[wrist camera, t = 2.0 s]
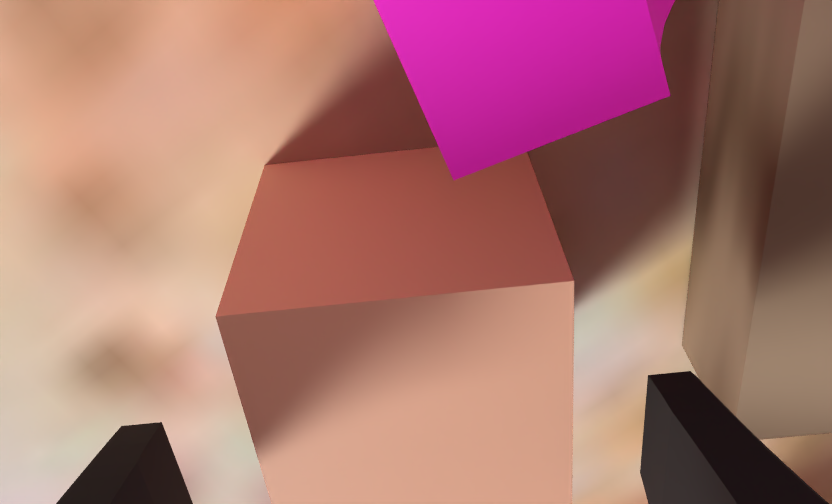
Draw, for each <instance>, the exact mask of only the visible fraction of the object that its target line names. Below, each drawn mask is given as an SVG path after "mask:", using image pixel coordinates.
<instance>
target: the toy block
mask: <svg viewBox="0 0 832 504" xmlns="http://www.w3.org/2000/svg"><path fill="white" fill-rule="evenodd" d="M373 1H374V3H375V5H376V7H377V9H378V12H379V14H380V16H381V18H382V21H383V23H384V25H385V27H386V30H387V32H388V34H389V36H390V39H391V41H392V43H393V45H394V48H395V50H396V52H397V54H398V57H399V59H400V61H401V63H402V66H403V68H404V70H405V72H406V75H407V77H408V79H409V81H410V84H411V86H412V88H413V90H414V93H415V95H416V97H417V99H418V102H419V104H420V106H421V108H422V111H423V113H424V115H425V117H426V120H427V122H428V124H429V126H430V129H431V131H432V133H433V135H434V138H435V140H436V142H437V144H438V146H439V149H440V151H441V153H442V155H443V158H444V160H445V162H446V164H447V167H448V169H449V171H450V173H451V176H452V178H453V180H456V179H459V178H461V177H464V176H466V175H469V174H472V173H474V172H477V171H479V170H482V169H484V168H487V167H489V166H492V165H495V164H497V163H500V162H502V161H505V160H507V159H510V158H512V157H515V156H518V155H520V154H523V153H525V152H528V151H530V150H533V149H536V148H538V147H541V146H543V145H546V144H548V143H551V142H553V141H556V140H559V139H561V138H564V137H566V136H569V135H571V134H574V133H576V132H579V131H582V130H584V129H587V128H589V127H592V126H594V125H597V124H599V123H602V122H605V121H607V120H610V119H612V118H615V117H617V116H620V115H623V114H625V113H628V112H630V111H633V110H635V109H638V108H640V107H643V106H646V105H648V104H651V103H653V102H656V101H658V100H661V99H663V98H666V97H669V96H671V95H670V91H669V87H668V84H667V80H666V76H665V72H664V68H663V64H662V60H661V53H660V44H661V39H662V34H663V29H664V24H665V22H666V19H667V17H668V15H669V12H670V10H671V8H672V6H673V3H674V1H675V0H373Z"/></svg>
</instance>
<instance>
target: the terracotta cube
mask: <svg viewBox="0 0 832 504" xmlns="http://www.w3.org/2000/svg"><path fill="white" fill-rule="evenodd" d="M216 319H217V323H218V326H219V330H220V333H221V336H222V340H223V343H224V346H225V350H226V353H227V356H228V360H229V363H230V366H231V370H232V373H233V376H234V380H235V383H236V386H237V390H238V393H239V396H240V400H241V403H242V407H243V410H244V413H245V417H246V420H247V423H248V427H249V430H250V433H251V437H252V440H253V443H254V447H255V450H256V453H257V457H258V460H259V463H260V467H261V470H262V474H263V477H264V480H265V484H266V487H267V490H268V494H269V497H270V500H271V504H572V455H573V356H574V279H573V276H572V273H571V271H570V268H569V265H568V262H567V260H566V257H565V254H564V251H563V249H562V246H561V243H560V241H559V238H558V235H557V232H556V230H555V227H554V224H553V221H552V219H551V216H550V213H549V210H548V208H547V205H546V202H545V200H544V197H543V194H542V191H541V189H540V186H539V183H538V180H537V178H536V175H535V172H534V169H533V167H532V164H531V161H530V158H529V156H528V153H527V152H525V153H523V154H520V155H518V156H515V157H512V158H510V159H507V160H505V161H502V162H500V163H497V164H495V165H492V166H489V167H487V168H484V169H482V170H479V171H477V172H474V173H472V174H469V175H466V176H464V177H461V178H459V179H456V180H453V178H452V176H451V173H450V171H449V169H448V167H447V164H446V162H445V160H444V158H443V155H442V153H441V151H440V149H439V147H431V148H421V149H412V150H402V151H393V152H383V153H374V154H364V155H355V156H345V157H335V158H326V159H316V160H307V161H297V162H288V163H278V164H269V165H265V166H264V169H263V172H262V175H261V178H260V181H259V185H258V188H257V191H256V194H255V197H254V200H253V203H252V206H251V209H250V212H249V215H248V218H247V221H246V225H245V228H244V231H243V234H242V237H241V240H240V243H239V246H238V249H237V252H236V255H235V258H234V261H233V265H232V268H231V271H230V274H229V277H228V280H227V283H226V286H225V289H224V292H223V295H222V298H221V301H220V305H219V308H218V311H217V314H216Z"/></svg>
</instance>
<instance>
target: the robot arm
mask: <svg viewBox="0 0 832 504" xmlns="http://www.w3.org/2000/svg"><path fill="white" fill-rule="evenodd" d="M640 473H641V477H642V481H643V484H644V488H645V492H646V496H647V499H648V503H649V504H829V503H828V502H826V501H825V500H824V499H823V498H822V497H821V496H820V495H818V494H817V493H816V492H815V491H814V490H813V489H812V488H811V487H809V486H808V485H807V484H806V483H805V482H804V481H803V480H802V479H801V478H800V477H799V476H797V475H796V474H795V473H794V472H793V471H792V470H791V469H790V468H789V467H788V466H787V465H786V464H784V463H783V462H782V461H781V460H780V459H779V458H778V457H777V456H776V455H775V454H774V453H773V452H772V451H771V450H769V449H768V448H767V447H766V446H765V445H764V444H763V443H762V442H761V441H760V440H759V439H758V438H757V437H756V436H755V435H754V434H753V433H752V432H751V431H750V430H749V429H748V428H747V427H746V426H745V425H744V424H743V423H742V422H741V421H740V420H739V419H738V418H737V417H736V416H735V415H734V414H733V413H732V412H731V411H730V410H729V409H728V408H727V407H726V406H725V405H724V404H723V403H722V402H721V401H720V400H719V399H718V398H717V397H716V396H715V395H714V394H713V393H712V392H711V391H710V390H709V389H708V388H707V387H706V386H705V385H704V384H703V383H702V382H701V380H700V379H699V378H698V377H697V376H695V375H694V374H693V373H692V372H691V371H688V372H677V373H667V374H657V375H648V383H647V396H646V408H645V420H644V433H643V445H642V457H641V470H640ZM56 504H193V503H192V500H191V498H190V495H189V492H188V490H187V487H186V485H185V482H184V479H183V477H182V474H181V472H180V469H179V466H178V464H177V461H176V458H175V456H174V453H173V451H172V448H171V445H170V443H169V440H168V438H167V435H166V432H165V430H164V427H163V425H162V422H160V423H150V424H139V425H129V426H121V427H120V429H119V430H118V431H117V432H116V433H115V434H114V435H113V437H112V438H111V439H110V440H109V441H108V442H107V444H106V445H105V446H104V447H103V448H102V450H101V451H100V452H99V453H98V454H97V455H96V457H95V458H94V459H93V460H92V461H91V463H90V464H89V465H88V466H87V467H86V469H85V470H84V471H83V472H82V473H81V475H80V476H79V477H78V478H77V479H76V481H75V482H74V483H73V484H72V485H71V487H70V488H69V489H68V490H67V491H66V492H65V494H64V495H63V496H62V497H61V498H60V500H59V501H58V502H57V503H56Z"/></svg>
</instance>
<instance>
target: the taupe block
mask: <svg viewBox="0 0 832 504" xmlns="http://www.w3.org/2000/svg"><path fill="white" fill-rule="evenodd" d="M682 346H683V348H684V350H685V352H686V354H687V356H688V358H689V360H690V362H691V364H692V366H693V367H694V369H695V371H696V373H697V375H698V377H699V379H700V380H701V382H702V383H703V384H704V385H705V386H706V387H707V388H708V389H709V390H710V391H711V392H712V393H713V394H714V395H715V396H716V397H717V398H718V399H719V400H720V401H721V402H722V403H723V404H724V405H725V406H726V407H727V408H728V409H729V410H730V411H731V412H732V413H733V414H734V415H735V416H736V417H737V418H738V419H739V420H740V421H741V422H742V423H743V424H744V425H745V426H746V427H747V428H748V429H749V430H750V431H751V432H752V433H753V434H754V435H755V436H756V437H757V438H758V439H759V440H760V439H771V438H782V437H793V436H804V435H815V434H825V433H832V0H719V2H718V12H717V21H716V31H715V40H714V49H713V59H712V68H711V77H710V87H709V96H708V106H707V115H706V124H705V134H704V143H703V153H702V162H701V171H700V181H699V190H698V200H697V209H696V218H695V228H694V237H693V247H692V256H691V265H690V275H689V284H688V294H687V303H686V312H685V322H684V331H683V341H682Z"/></svg>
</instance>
